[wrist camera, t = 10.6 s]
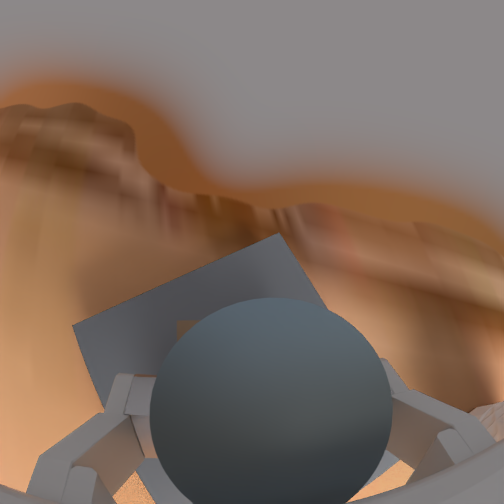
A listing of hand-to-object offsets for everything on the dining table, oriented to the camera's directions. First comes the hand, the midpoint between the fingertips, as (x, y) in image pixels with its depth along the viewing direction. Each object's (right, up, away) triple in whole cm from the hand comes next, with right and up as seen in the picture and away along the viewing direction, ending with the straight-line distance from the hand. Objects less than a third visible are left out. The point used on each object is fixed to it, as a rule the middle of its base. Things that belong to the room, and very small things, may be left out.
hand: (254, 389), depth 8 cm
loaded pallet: (0, -3, +4) cm, 4 cm away
